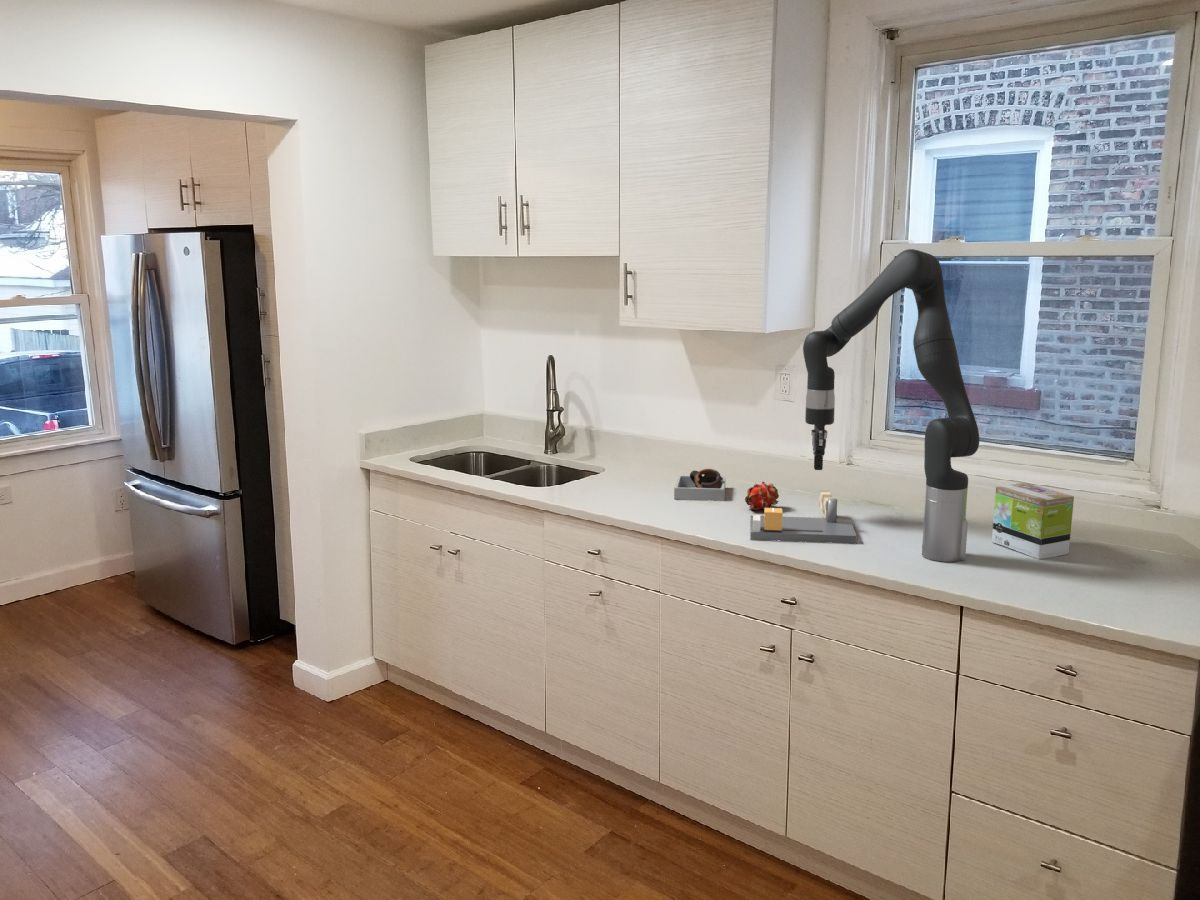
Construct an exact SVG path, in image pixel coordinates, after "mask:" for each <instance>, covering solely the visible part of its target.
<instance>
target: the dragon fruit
mask: <svg viewBox="0 0 1200 900" xmlns="http://www.w3.org/2000/svg"><path fill="white" fill-rule="evenodd" d="M778 491H779V490H778V489H777V487H776V486H775V485H774V484H773V483H769V484H766V483H765V481H761V483H760V484H758V483H755V484H753V486H751V487H749V488H748V489H747V491H746V493H747V495H746V496H745V498H744V502H745V503H746V505H747V506H749V509H748V510H750V511H755V510H757V511H759V510H762V509H763V510H764V508H772V507H771V506H775V505H778V503H779V502H780V501H779V500H778V499H779V497H780V495H779V492H778Z"/></svg>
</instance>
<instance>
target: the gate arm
mask: <svg viewBox="0 0 1200 900" xmlns="http://www.w3.org/2000/svg"><path fill="white" fill-rule="evenodd" d="M829 498H834V497H833V495H832V494H831V491H829V490H819V503H818V504H819V505H818V506H819V508H820V510H821V512H822V513H823V515H824V518H827V510H828V499H829Z"/></svg>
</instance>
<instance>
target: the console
mask: <svg viewBox="0 0 1200 900" xmlns="http://www.w3.org/2000/svg"><path fill="white" fill-rule="evenodd" d="M837 517H838V498H834V497H833V498H829V499H828V510H827V518H826V517H812V516H811V517H805V516H782V530H764V515H760V514H753V515H750V522H749V523H750V529H749V530H750V531H749V532H750V534H749V535H750V540H751V541H770V540H776V542H778V541H777V540H780V541H779V542H797V541H802V542H803V543H825V542H832V544H852V543H856V544H857V537H858V536H857V534H856V533H857V532H855V531H856V530H855V529H854V528H855V527H854V525H853V523H852V520H851V518H843V517H842V518H837ZM805 541H806V542H805ZM802 542H801V543H802Z"/></svg>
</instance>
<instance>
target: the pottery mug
mask: <svg viewBox="0 0 1200 900" xmlns="http://www.w3.org/2000/svg"><path fill="white" fill-rule="evenodd" d="M689 473H690V474H689V476H690V478H691V480H692V481H693V483H694V484H695V487H696V488H715V489H721V486H722V482H721V480H723V478H722V477H723V476H721V473H720V472H719V471H718V470H715V469H713V468H703V469H701V470H699V471H698V470H692V471H691V472H689ZM717 477H718V478H717ZM716 479H717V480H716ZM701 483H702V485H701ZM695 487H694V488H695Z"/></svg>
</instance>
